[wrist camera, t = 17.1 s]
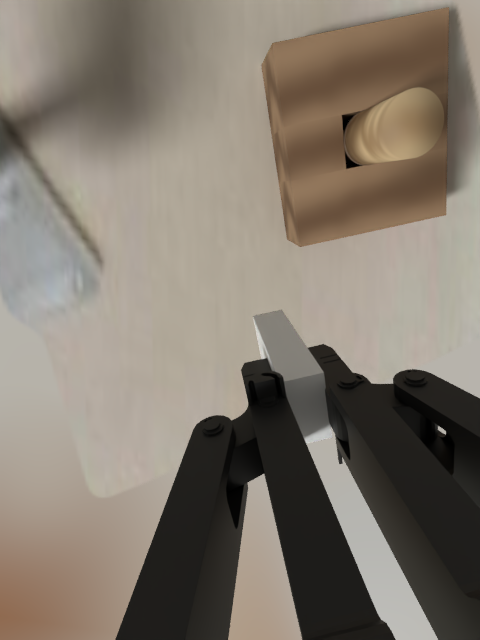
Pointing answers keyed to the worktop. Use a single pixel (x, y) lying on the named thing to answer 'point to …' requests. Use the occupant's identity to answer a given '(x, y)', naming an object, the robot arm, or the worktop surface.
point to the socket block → (342, 104)
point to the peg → (395, 128)
